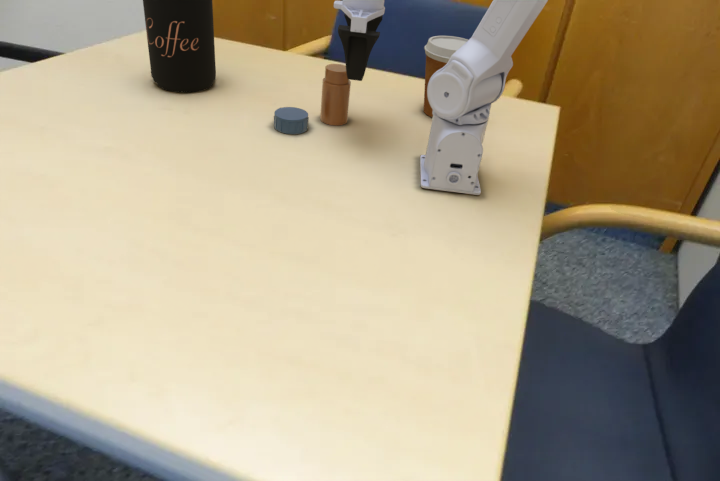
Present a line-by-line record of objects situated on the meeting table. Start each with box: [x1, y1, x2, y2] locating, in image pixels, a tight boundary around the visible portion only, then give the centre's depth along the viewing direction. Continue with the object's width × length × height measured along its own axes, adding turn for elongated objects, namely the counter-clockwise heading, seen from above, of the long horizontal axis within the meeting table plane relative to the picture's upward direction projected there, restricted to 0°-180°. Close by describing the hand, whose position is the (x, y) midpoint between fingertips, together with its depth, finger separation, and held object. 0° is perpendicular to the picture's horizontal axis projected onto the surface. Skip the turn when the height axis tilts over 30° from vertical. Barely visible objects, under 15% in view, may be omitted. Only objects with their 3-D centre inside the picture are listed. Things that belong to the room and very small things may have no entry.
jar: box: [319, 63, 352, 126], centre depth 87 cm, size 4×4×8 cm
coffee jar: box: [142, 0, 217, 94], centre depth 91 cm, size 11×11×18 cm
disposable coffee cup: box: [423, 35, 469, 118], centre depth 94 cm, size 10×10×12 cm
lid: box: [273, 106, 310, 135], centre depth 85 cm, size 5×5×2 cm
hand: (356, 71), depth 82 cm, fingers open, 7 cm apart
